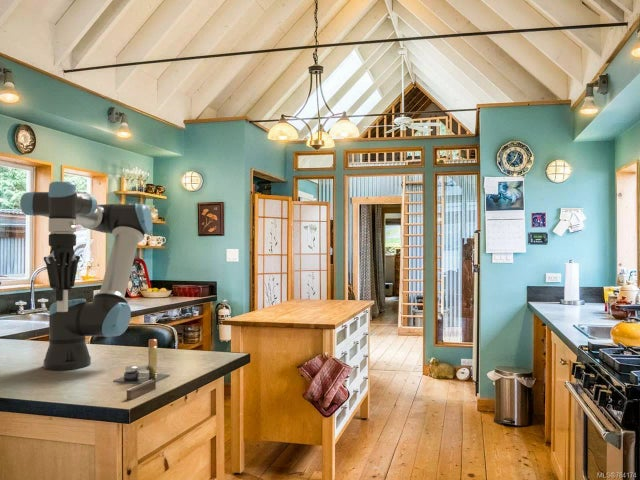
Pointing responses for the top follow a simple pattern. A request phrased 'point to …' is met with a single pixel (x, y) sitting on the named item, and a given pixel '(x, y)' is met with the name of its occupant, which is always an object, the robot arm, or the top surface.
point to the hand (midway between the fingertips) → (62, 311)
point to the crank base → (144, 377)
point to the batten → (141, 389)
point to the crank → (141, 368)
